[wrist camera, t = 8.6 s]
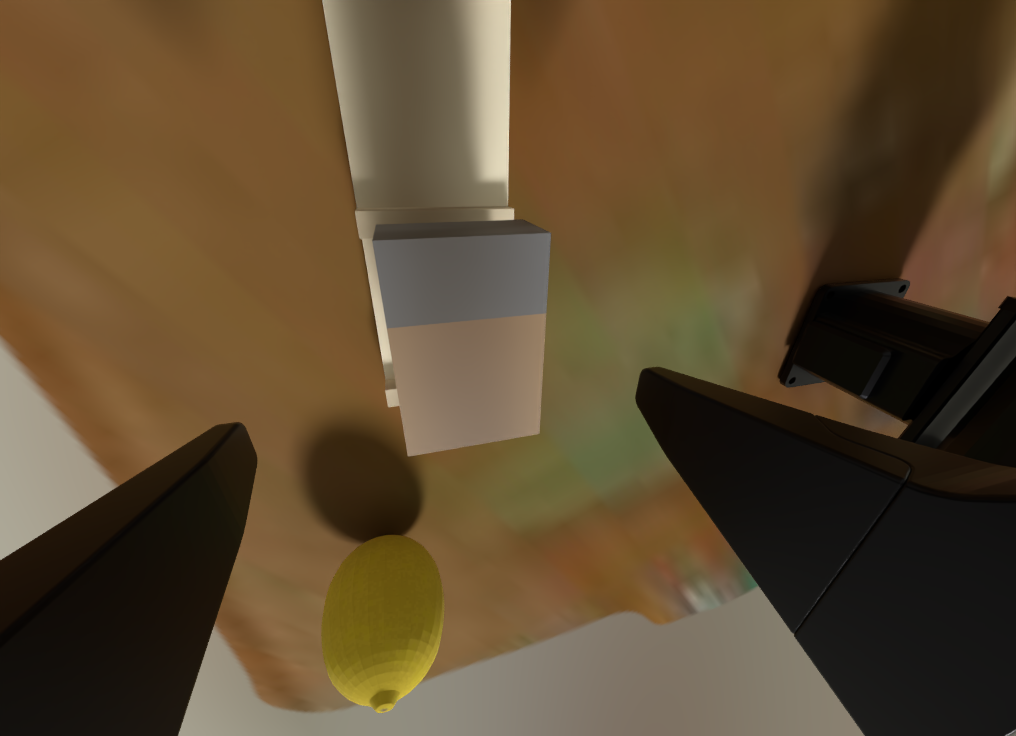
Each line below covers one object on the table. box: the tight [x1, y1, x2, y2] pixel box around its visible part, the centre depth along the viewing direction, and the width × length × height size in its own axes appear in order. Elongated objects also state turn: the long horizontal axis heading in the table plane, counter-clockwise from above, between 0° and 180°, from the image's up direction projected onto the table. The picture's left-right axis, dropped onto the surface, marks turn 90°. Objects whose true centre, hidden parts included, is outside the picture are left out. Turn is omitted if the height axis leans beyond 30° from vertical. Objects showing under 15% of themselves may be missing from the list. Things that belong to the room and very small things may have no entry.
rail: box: [322, 0, 514, 407], centre depth 9 cm, size 5×20×8 cm, turn 179°
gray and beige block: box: [372, 220, 551, 456], centre depth 11 cm, size 4×5×6 cm, turn 0°
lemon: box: [321, 535, 444, 713], centre depth 18 cm, size 6×6×8 cm
